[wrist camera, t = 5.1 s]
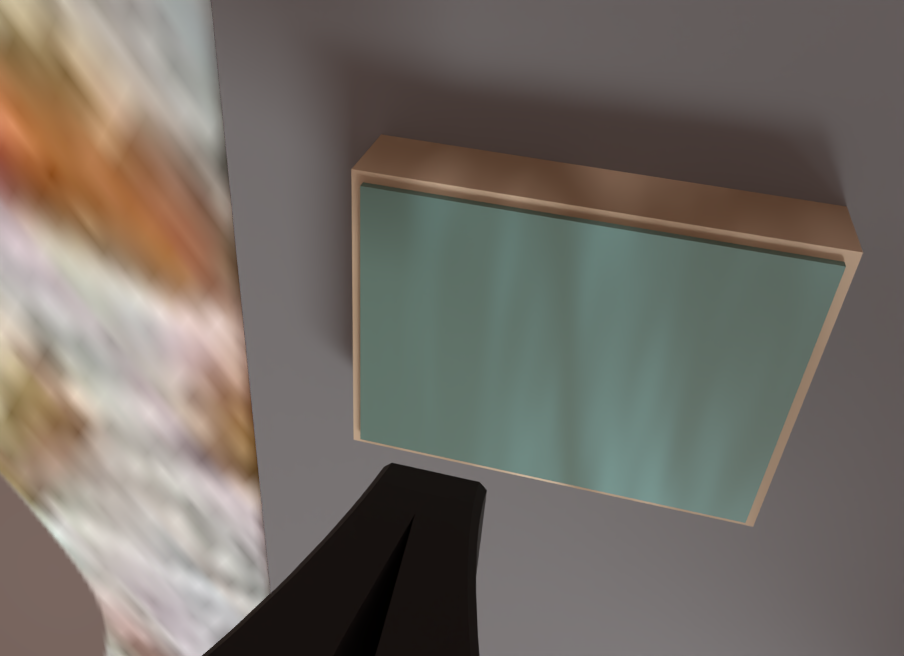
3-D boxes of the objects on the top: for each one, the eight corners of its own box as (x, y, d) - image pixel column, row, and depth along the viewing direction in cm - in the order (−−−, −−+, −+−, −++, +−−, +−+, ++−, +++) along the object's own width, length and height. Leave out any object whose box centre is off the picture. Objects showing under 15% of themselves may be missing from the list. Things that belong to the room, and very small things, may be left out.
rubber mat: (1653, -190, 9) (1695, -188, 9) (912, 780, 22) (916, 799, 22) (197, -293, 12) (181, -295, 12) (281, 617, 25) (274, 632, 24)
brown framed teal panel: (864, 257, 12) (348, 173, 13) (753, 532, 16) (351, 444, 17) (846, 206, 13) (381, 134, 15) (748, 469, 17) (377, 392, 18)
